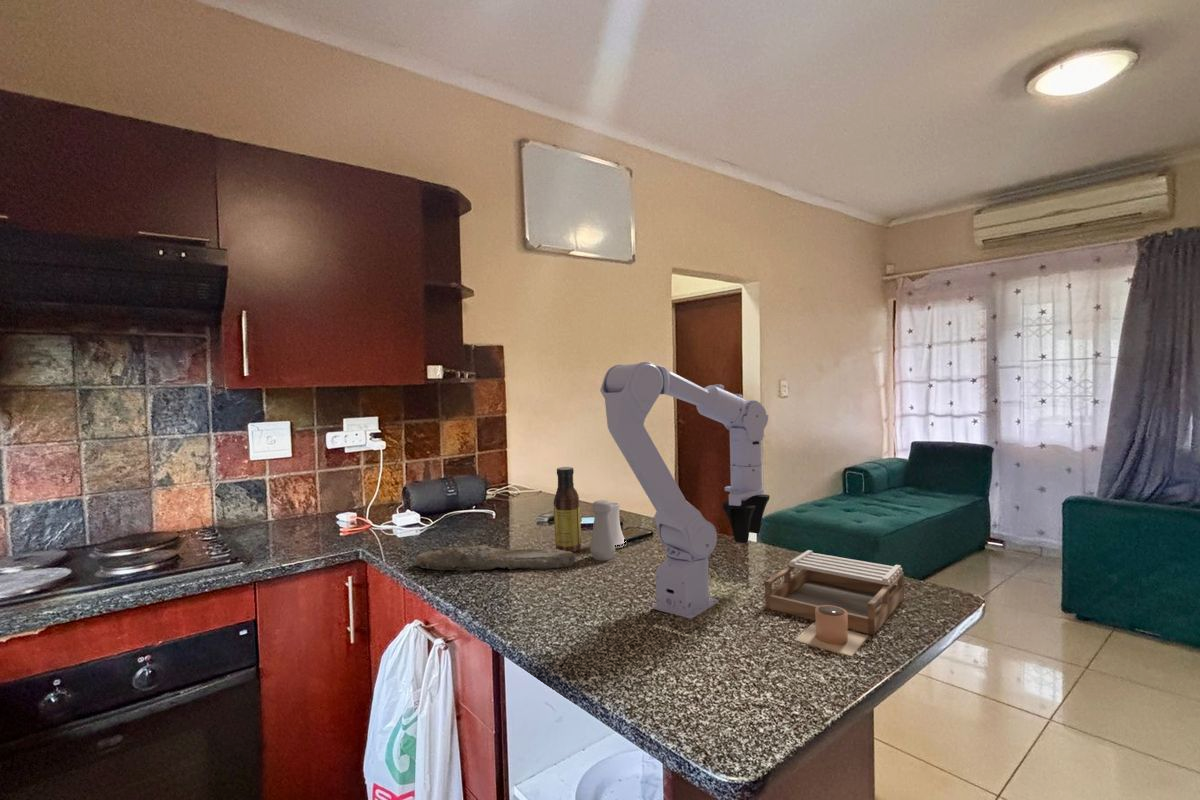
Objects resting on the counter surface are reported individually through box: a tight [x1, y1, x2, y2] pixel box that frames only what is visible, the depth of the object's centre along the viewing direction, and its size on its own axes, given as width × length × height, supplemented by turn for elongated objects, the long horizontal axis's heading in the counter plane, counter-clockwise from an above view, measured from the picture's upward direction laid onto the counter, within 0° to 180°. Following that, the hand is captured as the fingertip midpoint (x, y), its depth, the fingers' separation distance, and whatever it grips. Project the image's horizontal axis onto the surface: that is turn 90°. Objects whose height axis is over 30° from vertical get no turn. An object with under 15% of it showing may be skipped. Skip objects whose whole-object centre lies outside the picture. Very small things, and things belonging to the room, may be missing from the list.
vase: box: [609, 502, 627, 549], centre depth 136 cm, size 8×8×10 cm
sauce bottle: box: [553, 466, 582, 553], centre depth 132 cm, size 7×6×20 cm
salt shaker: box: [589, 499, 616, 562], centre depth 125 cm, size 6×6×13 cm
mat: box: [794, 621, 869, 658], centre depth 81 cm, size 8×8×1 cm
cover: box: [788, 549, 903, 585], centre depth 98 cm, size 9×17×1 cm, turn 49°
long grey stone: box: [415, 544, 576, 572], centre depth 121 cm, size 35×5×10 cm
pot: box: [814, 605, 849, 645], centre depth 81 cm, size 4×4×4 cm
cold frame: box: [764, 566, 905, 636], centre depth 95 cm, size 19×17×5 cm
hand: (747, 537), depth 103 cm, fingers open, 7 cm apart
